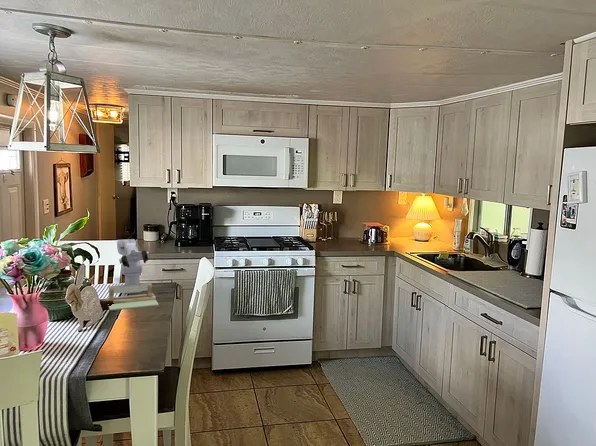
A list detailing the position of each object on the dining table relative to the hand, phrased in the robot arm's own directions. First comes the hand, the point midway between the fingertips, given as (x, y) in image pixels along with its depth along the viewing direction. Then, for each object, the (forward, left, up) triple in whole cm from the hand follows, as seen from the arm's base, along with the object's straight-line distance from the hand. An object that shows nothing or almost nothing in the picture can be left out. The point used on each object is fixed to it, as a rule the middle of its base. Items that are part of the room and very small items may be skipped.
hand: (136, 263), depth 233 cm
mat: (+6, -2, -19) cm, 20 cm away
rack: (-4, -2, -19) cm, 20 cm away
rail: (-4, -2, -15) cm, 15 cm away
